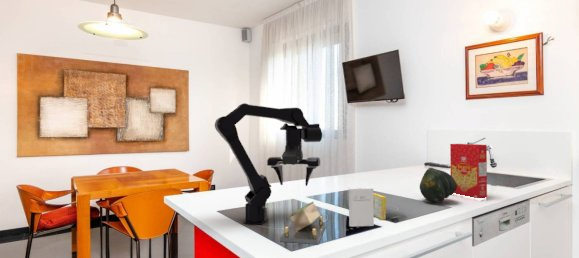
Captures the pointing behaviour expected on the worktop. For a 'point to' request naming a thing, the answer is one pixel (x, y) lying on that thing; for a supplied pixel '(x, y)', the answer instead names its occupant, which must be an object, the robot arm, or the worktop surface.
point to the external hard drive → (361, 207)
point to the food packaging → (469, 169)
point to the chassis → (304, 233)
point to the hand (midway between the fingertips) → (293, 185)
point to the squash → (437, 185)
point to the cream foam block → (305, 216)
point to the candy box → (379, 206)
